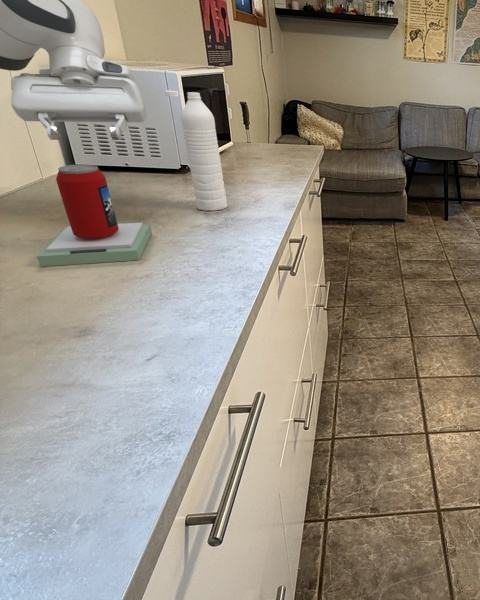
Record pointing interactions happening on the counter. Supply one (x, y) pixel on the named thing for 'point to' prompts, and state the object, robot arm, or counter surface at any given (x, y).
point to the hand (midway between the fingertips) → (85, 137)
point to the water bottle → (202, 153)
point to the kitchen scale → (96, 247)
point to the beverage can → (87, 201)
